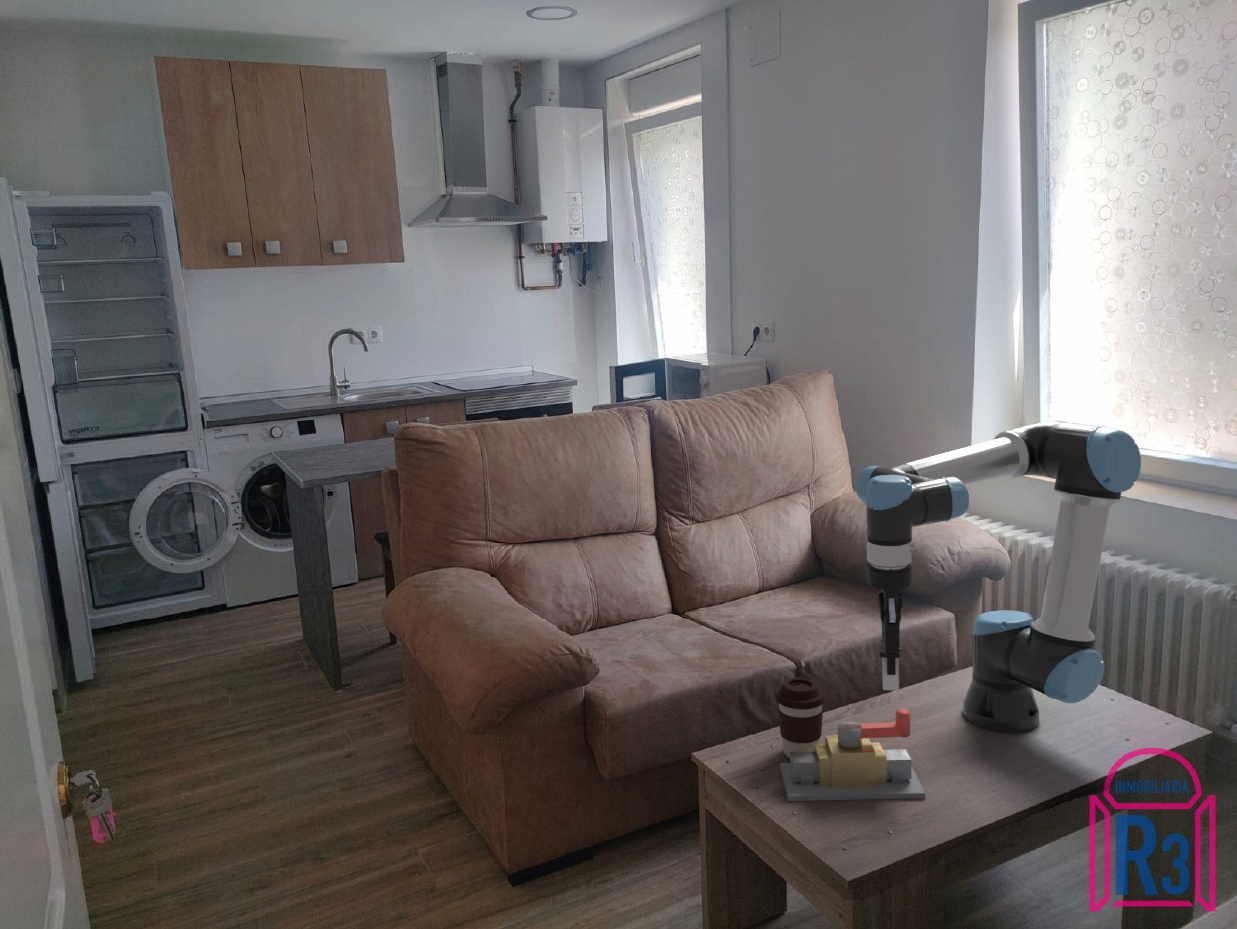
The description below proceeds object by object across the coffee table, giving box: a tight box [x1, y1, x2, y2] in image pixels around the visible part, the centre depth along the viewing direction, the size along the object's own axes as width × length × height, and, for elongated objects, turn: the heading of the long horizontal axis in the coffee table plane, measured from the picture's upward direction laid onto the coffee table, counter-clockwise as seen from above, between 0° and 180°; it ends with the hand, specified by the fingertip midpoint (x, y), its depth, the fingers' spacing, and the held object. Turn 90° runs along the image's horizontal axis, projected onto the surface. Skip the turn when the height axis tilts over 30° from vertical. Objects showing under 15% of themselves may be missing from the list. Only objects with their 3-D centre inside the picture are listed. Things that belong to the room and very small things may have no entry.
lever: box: [837, 708, 911, 748], centre depth 174 cm, size 14×4×6 cm, turn 89°
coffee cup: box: [774, 677, 826, 759], centre depth 187 cm, size 10×10×15 cm
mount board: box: [779, 762, 926, 802], centre depth 176 cm, size 25×12×1 cm, turn 87°
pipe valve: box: [789, 734, 912, 788], centre depth 176 cm, size 22×7×7 cm, turn 87°
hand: (890, 688), depth 167 cm, fingers closed
